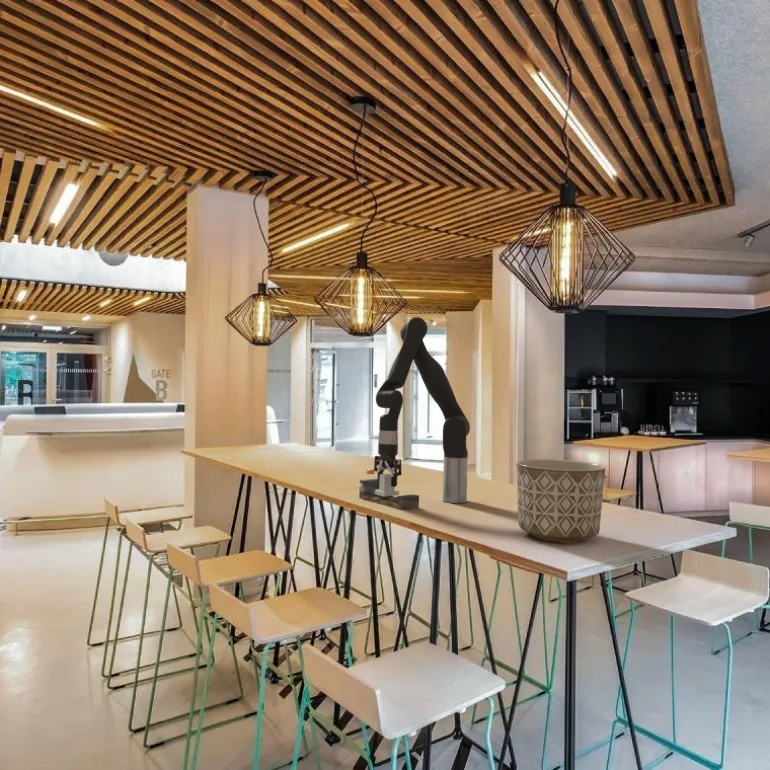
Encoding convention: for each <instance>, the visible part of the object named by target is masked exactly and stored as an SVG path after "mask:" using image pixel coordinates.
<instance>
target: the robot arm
mask: <svg viewBox="0 0 770 770" xmlns="http://www.w3.org/2000/svg"><path fill="white" fill-rule="evenodd" d="M399 332H400V338H401V340H402V345H401V348H400V350H399V351H398V353H397V355H396V357H395V359H394V361H393V363H392V365H391V367H390V370H389V373H388V376H387V378H386V380H384V382H383V383H382V384H381V386H380V388H379V389H378V390H377V393H376V394H375V403H376V406H377V407H379V408H381V409H388V411H387V413H386V414H382V415H380V417H379V426H378V427H379V428H378V429H379V430H378V438H377V439H378V442H377V443H378V444H377V446H378V447H377V454H378V455H375V456H374V461H373V469H374V471H375V473H377V478H376V479H377V481H378V483H380V475H381V474H384V472H385V470H388V472H389V474H391V476H392V477H391V486H392V487H397V485H398V477H399V476H402V459H399V458H398V459H396V457H397V455H399V432H398V430H399V418H400V416H401V411H402V408H403V405H404V396H403V394H402V392H401V391H400V390H399V389H401V388H403V387H405V383H406V381H407V379H408V375H409V373H410V370H411V366H412V364H413V362H414V364H415V366H416V368H417V370H418V372H419V374H420V375H419V376H420V377H421V380H422V382H423V384H424V386H425V388H426V390H427V392H428V393H429V395H430V397H431V398H432V399H433V401H434V402H435V404H436V405H437V406H438V407H439V409H440V412H441V413H442V415H443V417H444V423H443V427H442V450H443V473H442V474H443V476H442V479H443V480H442V483H443V484H442V501H443V502H445V503H450V504H451V503H452V504H462V503H463V504H465V503H466V504H467V502H468V501H467V498H468V496H467V495H468V493H467V492H468V461H469V460H468V457H469V456H468V455H469V454H468V453H469V451H468V448H467V436H468V435H469V433H470V431H471V424H470V421H469V420H468V419H467V416H466V415H465V413H464V411H463V410H462V408H461V407H460V404H459V403H458V400H457V398H456V396H455V393H454V391H453V388H452V385H451V383H450V381H449V379H448V376H447V374H446V373H445V370H444V368H443V366H442V365H441V364H440V362H439V361H438V360H436V359H435V358H434V357H433V356H432V355H431V354H430V352H429V350H428V349H427V347H426V345H425V342H424V339H425V337H426V335H427V334H428V324H427V322H426V320H424V318H422V317H418V316H414V317H412V318H410V319H408V320H407V321H406V322H405V323H404V324H403V326H402V327H401V329H400V331H399Z"/></svg>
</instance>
